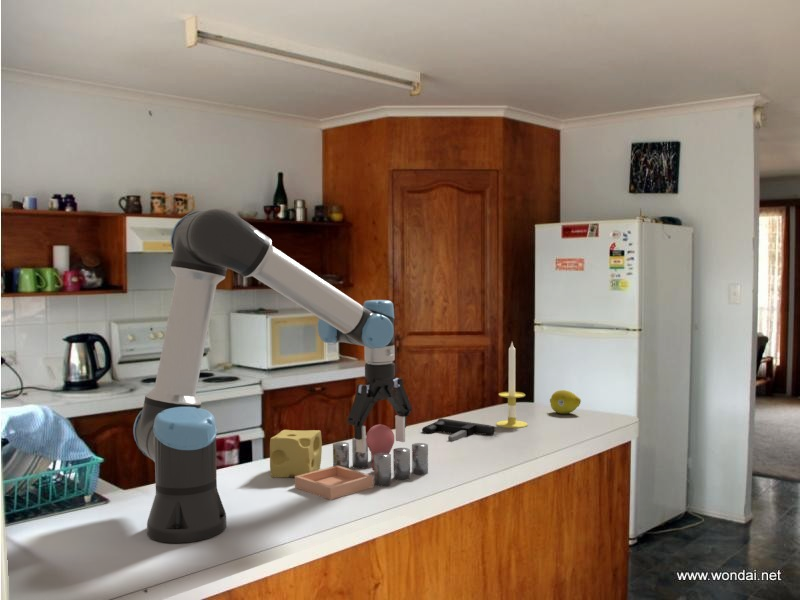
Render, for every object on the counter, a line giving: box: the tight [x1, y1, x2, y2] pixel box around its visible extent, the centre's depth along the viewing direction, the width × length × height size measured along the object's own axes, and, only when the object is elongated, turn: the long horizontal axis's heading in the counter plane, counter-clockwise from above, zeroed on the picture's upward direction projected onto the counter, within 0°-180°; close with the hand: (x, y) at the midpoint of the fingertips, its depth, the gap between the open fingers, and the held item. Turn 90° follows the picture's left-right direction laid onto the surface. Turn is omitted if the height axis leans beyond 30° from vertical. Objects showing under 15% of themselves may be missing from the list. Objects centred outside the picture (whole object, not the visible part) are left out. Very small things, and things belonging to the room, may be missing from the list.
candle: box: [495, 342, 528, 429], centre depth 239 cm, size 10×10×27 cm
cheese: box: [269, 429, 323, 479], centre depth 187 cm, size 10×11×10 cm
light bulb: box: [366, 423, 395, 472], centre depth 187 cm, size 7×7×12 cm
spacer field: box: [332, 437, 429, 488], centre depth 187 cm, size 17×19×7 cm
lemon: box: [549, 389, 582, 415], centre depth 256 cm, size 11×8×8 cm
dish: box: [294, 465, 374, 501], centre depth 175 cm, size 13×13×3 cm
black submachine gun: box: [421, 418, 496, 442], centre depth 228 cm, size 3×20×16 cm
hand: (381, 446), depth 187 cm, fingers open, 13 cm apart
